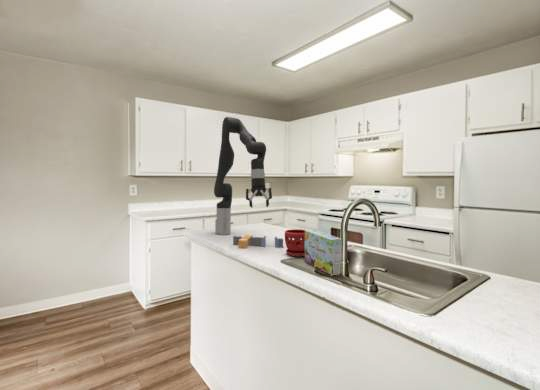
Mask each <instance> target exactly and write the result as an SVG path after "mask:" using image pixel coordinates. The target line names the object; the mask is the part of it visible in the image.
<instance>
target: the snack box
mask: <svg viewBox="0 0 540 390" xmlns="http://www.w3.org/2000/svg"><path fill="white" fill-rule="evenodd" d="M304 230H305V256H304V260H303V261H304V263H306V264H308V265H310V266H311V267H314V268H315V267H319V268H321V269H323V270H325V271H327V272H330V273H332V274H337V275H336V276H340V275H342V265H343V264H342V263H343V262H342V255H343V239H342V238H340V237H337V236H334V235H332V234H329V233H325V232H323V231H320V230H316V229H304Z"/></svg>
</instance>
